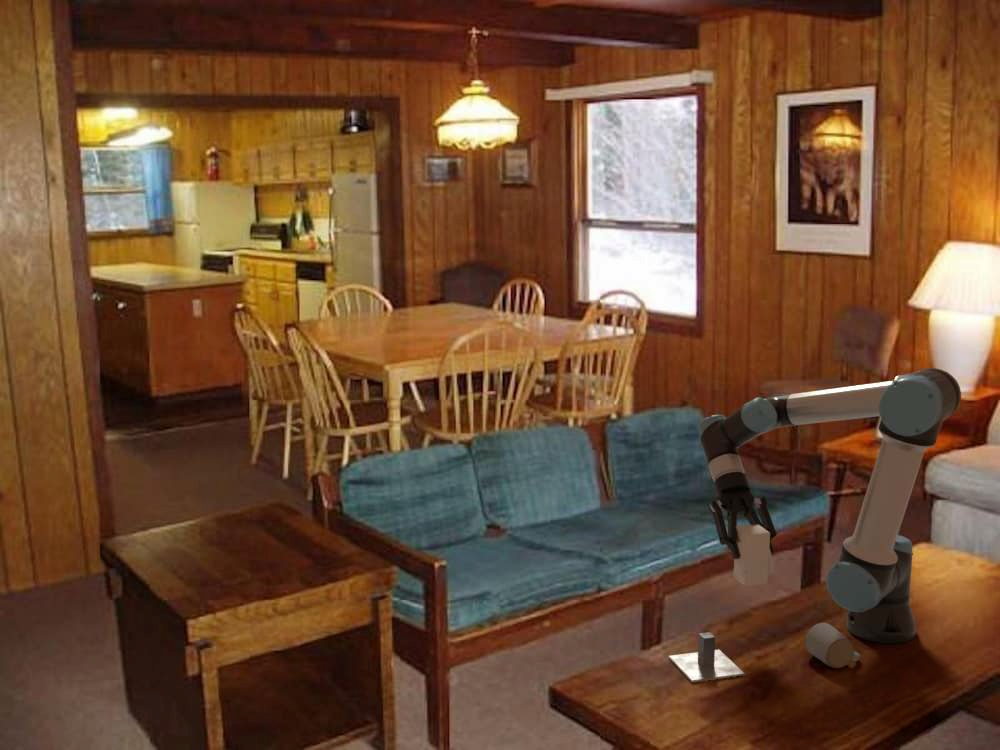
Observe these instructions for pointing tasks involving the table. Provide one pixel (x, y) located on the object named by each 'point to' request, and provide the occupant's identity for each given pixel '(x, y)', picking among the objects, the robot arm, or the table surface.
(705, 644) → the square base plate
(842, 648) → the ceramic mug
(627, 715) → the table surface
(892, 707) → the table surface
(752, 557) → the beige square prism
